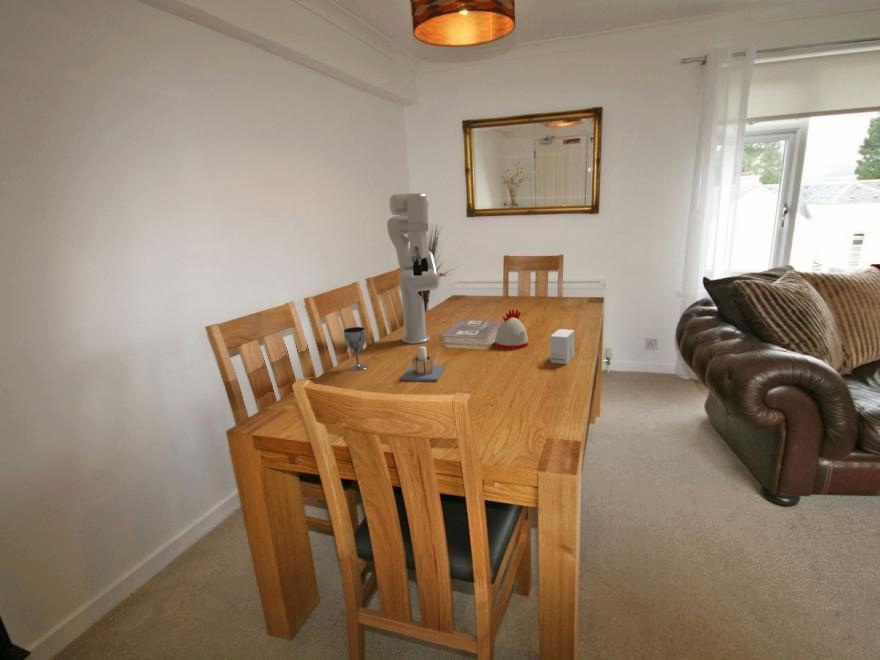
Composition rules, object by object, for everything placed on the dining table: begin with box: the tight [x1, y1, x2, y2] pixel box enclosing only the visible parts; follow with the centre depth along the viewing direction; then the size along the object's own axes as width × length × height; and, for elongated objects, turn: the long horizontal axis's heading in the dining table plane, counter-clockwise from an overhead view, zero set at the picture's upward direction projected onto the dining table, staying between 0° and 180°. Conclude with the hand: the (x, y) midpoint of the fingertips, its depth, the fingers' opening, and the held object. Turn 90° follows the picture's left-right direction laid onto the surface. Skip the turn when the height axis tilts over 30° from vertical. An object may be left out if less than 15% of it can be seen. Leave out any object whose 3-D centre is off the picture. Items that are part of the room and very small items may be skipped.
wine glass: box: [343, 326, 368, 372], centre depth 175 cm, size 8×8×15 cm
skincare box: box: [550, 328, 576, 365], centre depth 173 cm, size 10×6×10 cm, turn 149°
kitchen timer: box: [494, 308, 529, 350], centre depth 194 cm, size 14×14×15 cm
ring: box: [411, 355, 434, 375], centre depth 165 cm, size 7×7×5 cm
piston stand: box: [400, 346, 446, 382], centre depth 165 cm, size 13×13×10 cm
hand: (421, 273), depth 177 cm, fingers open, 9 cm apart
